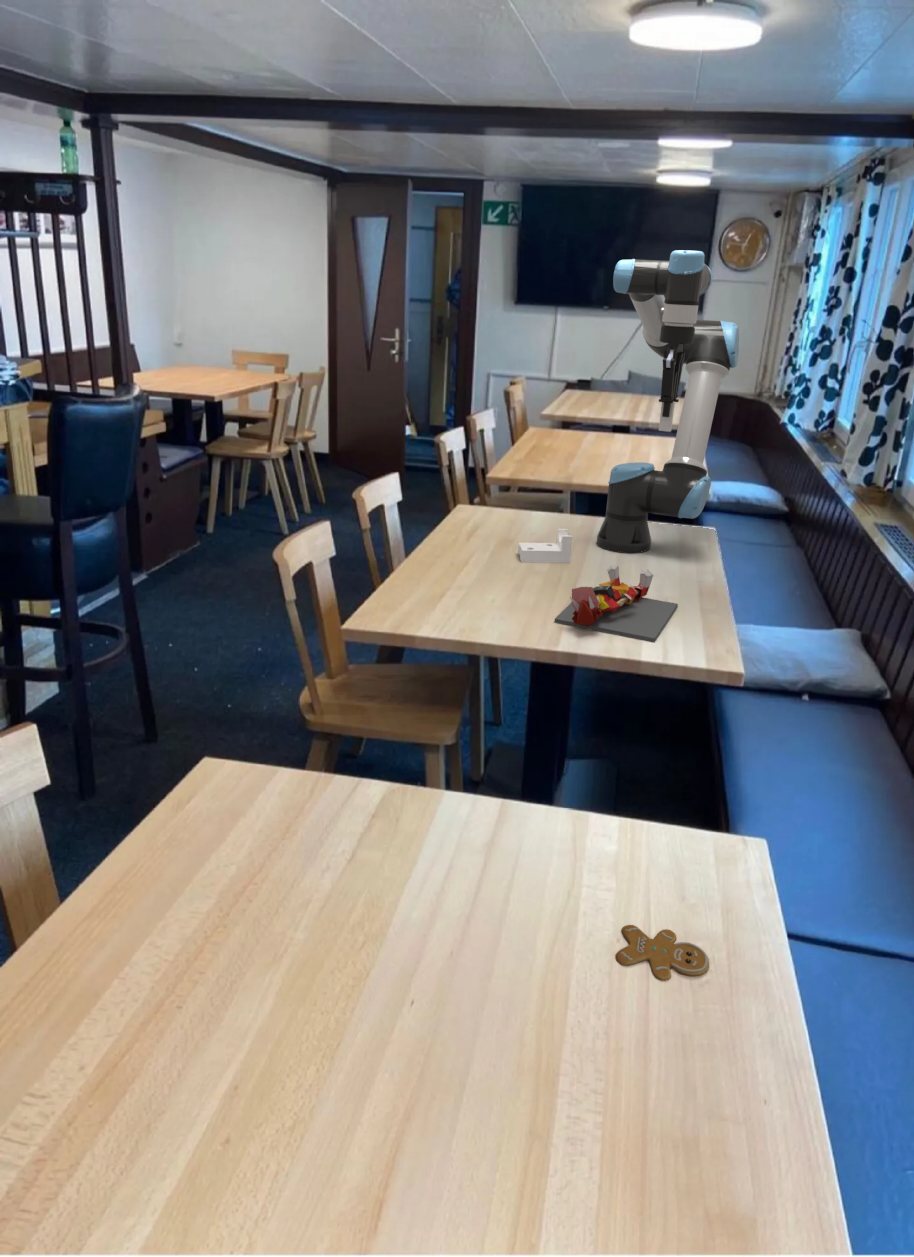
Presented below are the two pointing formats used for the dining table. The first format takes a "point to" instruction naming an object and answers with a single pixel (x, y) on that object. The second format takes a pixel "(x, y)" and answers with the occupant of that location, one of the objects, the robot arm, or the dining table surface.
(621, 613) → the mat
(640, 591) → the toy
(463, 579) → the dining table surface
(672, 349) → the robot arm
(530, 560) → the bracket
